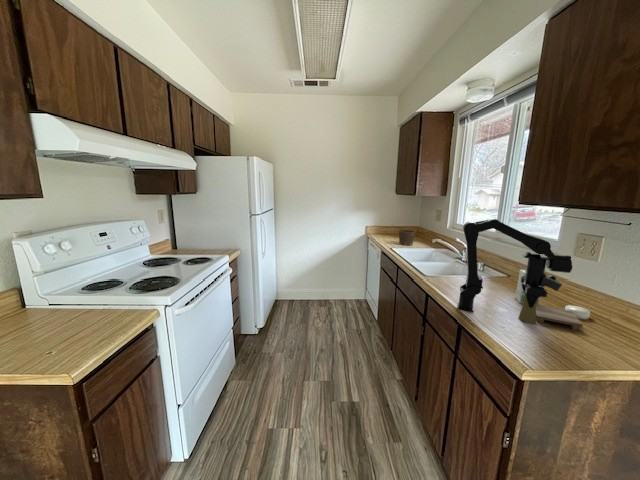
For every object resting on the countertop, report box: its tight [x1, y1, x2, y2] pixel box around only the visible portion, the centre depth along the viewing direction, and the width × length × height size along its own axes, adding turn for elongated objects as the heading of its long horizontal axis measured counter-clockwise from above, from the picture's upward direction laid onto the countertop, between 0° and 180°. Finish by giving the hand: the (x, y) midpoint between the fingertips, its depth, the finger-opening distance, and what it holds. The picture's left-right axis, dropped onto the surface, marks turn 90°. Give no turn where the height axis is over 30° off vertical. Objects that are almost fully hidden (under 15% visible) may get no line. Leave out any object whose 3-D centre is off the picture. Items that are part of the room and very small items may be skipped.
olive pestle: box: [518, 295, 540, 325], centre depth 111 cm, size 6×6×11 cm
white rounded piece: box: [564, 304, 591, 320], centre depth 117 cm, size 8×8×3 cm
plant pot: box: [397, 229, 417, 247], centre depth 261 cm, size 16×16×16 cm
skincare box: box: [514, 269, 541, 305], centre depth 130 cm, size 8×7×16 cm
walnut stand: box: [536, 304, 584, 332], centre depth 112 cm, size 14×14×3 cm
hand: (529, 305), depth 110 cm, fingers closed on olive pestle, 5 cm apart
